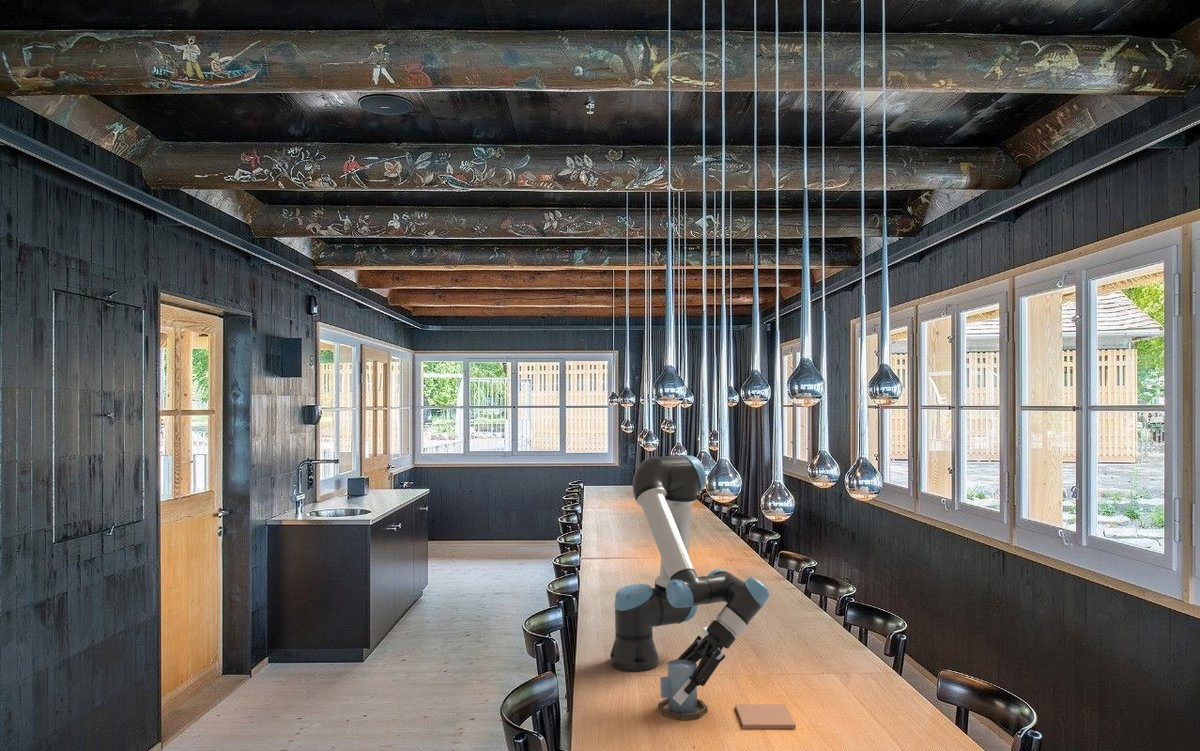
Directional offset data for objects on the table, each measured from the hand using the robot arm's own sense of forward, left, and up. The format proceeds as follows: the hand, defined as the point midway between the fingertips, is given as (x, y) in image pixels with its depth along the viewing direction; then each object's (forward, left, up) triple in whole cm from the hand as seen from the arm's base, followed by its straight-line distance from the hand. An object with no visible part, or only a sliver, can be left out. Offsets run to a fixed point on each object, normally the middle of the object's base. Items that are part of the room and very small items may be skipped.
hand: (670, 695), depth 205 cm
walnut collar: (-3, +2, -4) cm, 5 cm away
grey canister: (-2, +1, -4) cm, 5 cm away
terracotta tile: (-10, +22, -4) cm, 25 cm away
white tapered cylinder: (-52, -13, -4) cm, 53 cm away
